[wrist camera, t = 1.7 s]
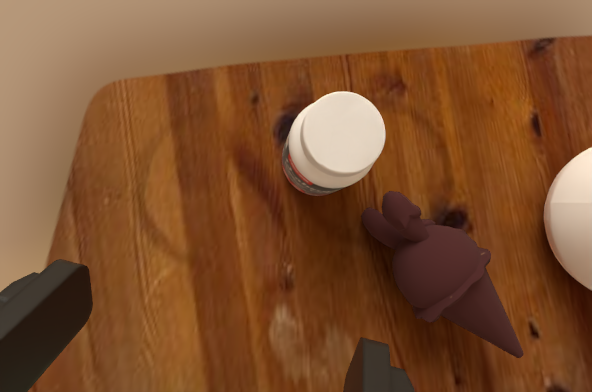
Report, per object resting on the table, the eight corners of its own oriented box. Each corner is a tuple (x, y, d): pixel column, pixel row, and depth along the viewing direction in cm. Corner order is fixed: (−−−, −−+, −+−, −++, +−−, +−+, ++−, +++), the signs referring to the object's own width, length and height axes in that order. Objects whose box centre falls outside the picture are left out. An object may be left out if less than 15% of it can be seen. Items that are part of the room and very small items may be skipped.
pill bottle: (270, 180, 30) (276, 158, 20) (296, 116, 31) (314, 64, 21) (337, 207, 31) (374, 198, 21) (361, 143, 31) (408, 104, 21)
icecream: (588, 316, 25) (427, 154, 26) (536, 408, 22) (359, 222, 24) (510, 318, 32) (384, 187, 33) (462, 389, 29) (326, 243, 30)
